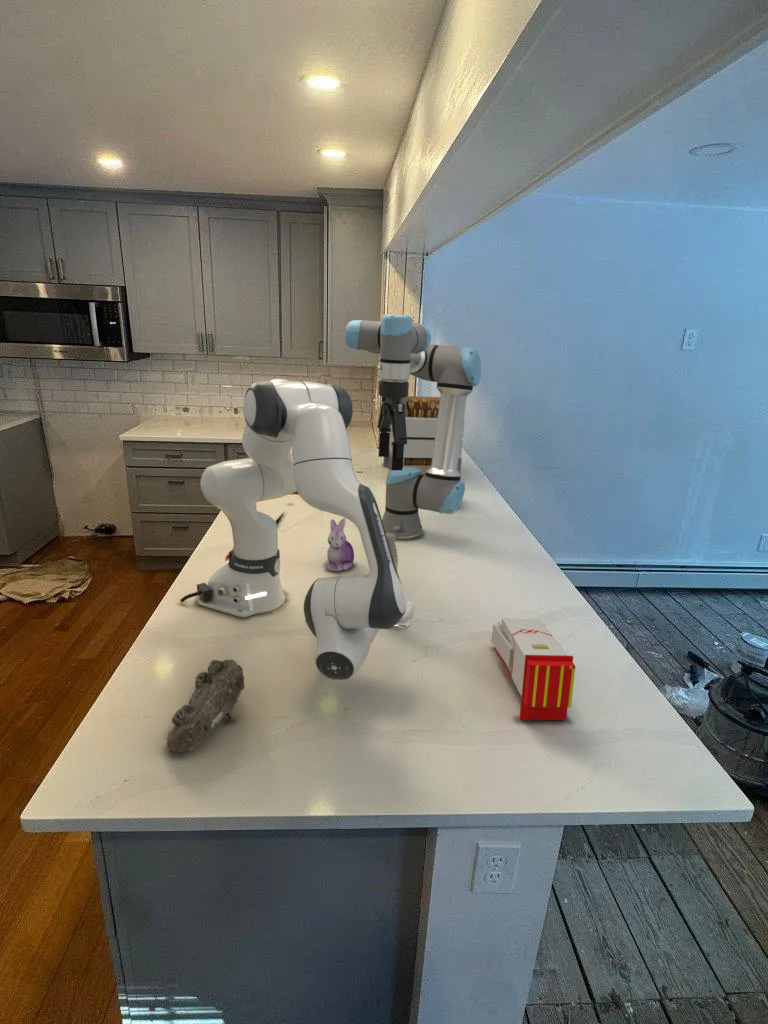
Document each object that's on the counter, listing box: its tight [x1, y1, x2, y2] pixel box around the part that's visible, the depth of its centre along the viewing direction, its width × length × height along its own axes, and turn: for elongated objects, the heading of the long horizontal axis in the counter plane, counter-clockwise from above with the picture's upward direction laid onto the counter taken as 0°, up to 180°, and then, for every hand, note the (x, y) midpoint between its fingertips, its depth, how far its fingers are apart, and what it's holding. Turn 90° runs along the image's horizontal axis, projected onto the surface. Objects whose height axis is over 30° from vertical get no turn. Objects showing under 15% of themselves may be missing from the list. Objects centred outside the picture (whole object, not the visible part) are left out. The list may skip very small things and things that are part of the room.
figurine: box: [326, 517, 355, 572], centre depth 171 cm, size 9×10×15 cm
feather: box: [274, 503, 291, 525], centre depth 211 cm, size 2×28×2 cm
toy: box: [490, 617, 576, 721], centre depth 122 cm, size 12×13×30 cm
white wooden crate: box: [383, 395, 465, 474], centre depth 268 cm, size 34×33×41 cm
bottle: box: [386, 533, 399, 571], centre depth 140 cm, size 5×5×24 cm
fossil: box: [166, 658, 245, 754], centre depth 106 cm, size 22×10×15 cm
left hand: (374, 591), depth 127 cm, fingers open, 8 cm apart
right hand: (390, 463), depth 148 cm, fingers open, 13 cm apart
